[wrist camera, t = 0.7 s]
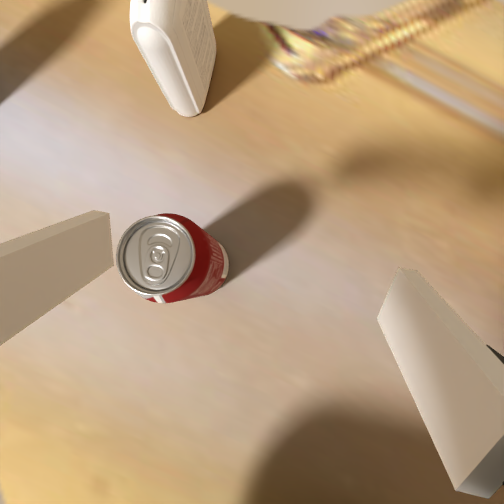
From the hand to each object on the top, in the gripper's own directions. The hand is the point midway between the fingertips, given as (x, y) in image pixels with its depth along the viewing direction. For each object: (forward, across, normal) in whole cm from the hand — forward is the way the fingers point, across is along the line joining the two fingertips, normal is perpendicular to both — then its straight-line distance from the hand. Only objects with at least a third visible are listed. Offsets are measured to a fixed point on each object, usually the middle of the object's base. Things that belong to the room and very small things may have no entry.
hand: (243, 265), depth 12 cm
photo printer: (+26, +12, -10) cm, 31 cm away
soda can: (+15, +6, +9) cm, 19 cm away
